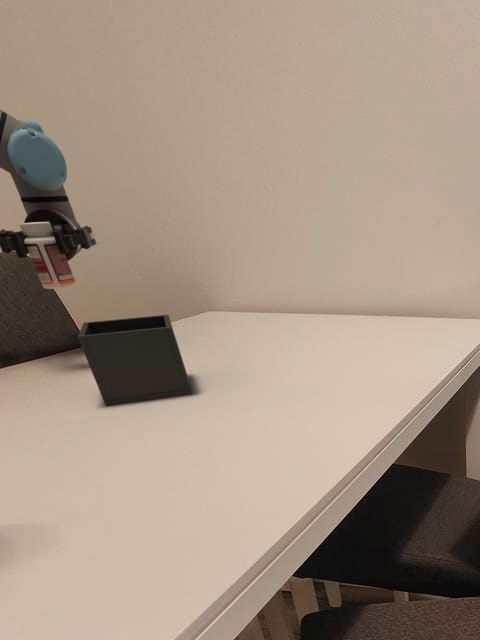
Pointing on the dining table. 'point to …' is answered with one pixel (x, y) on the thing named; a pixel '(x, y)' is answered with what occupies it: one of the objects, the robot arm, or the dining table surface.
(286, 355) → the dining table surface
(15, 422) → the dining table surface
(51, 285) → the pill bottle
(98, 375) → the trash bin
